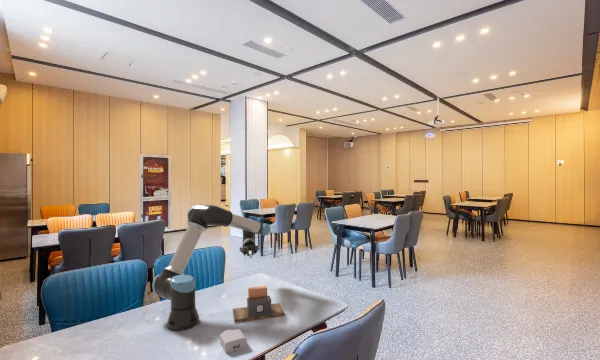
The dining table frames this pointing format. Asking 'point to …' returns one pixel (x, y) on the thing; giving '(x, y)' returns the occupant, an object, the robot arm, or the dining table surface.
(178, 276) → the robot arm
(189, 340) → the dining table surface
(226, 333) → the charger
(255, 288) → the orange block
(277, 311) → the base board
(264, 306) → the socket
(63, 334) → the dining table surface
